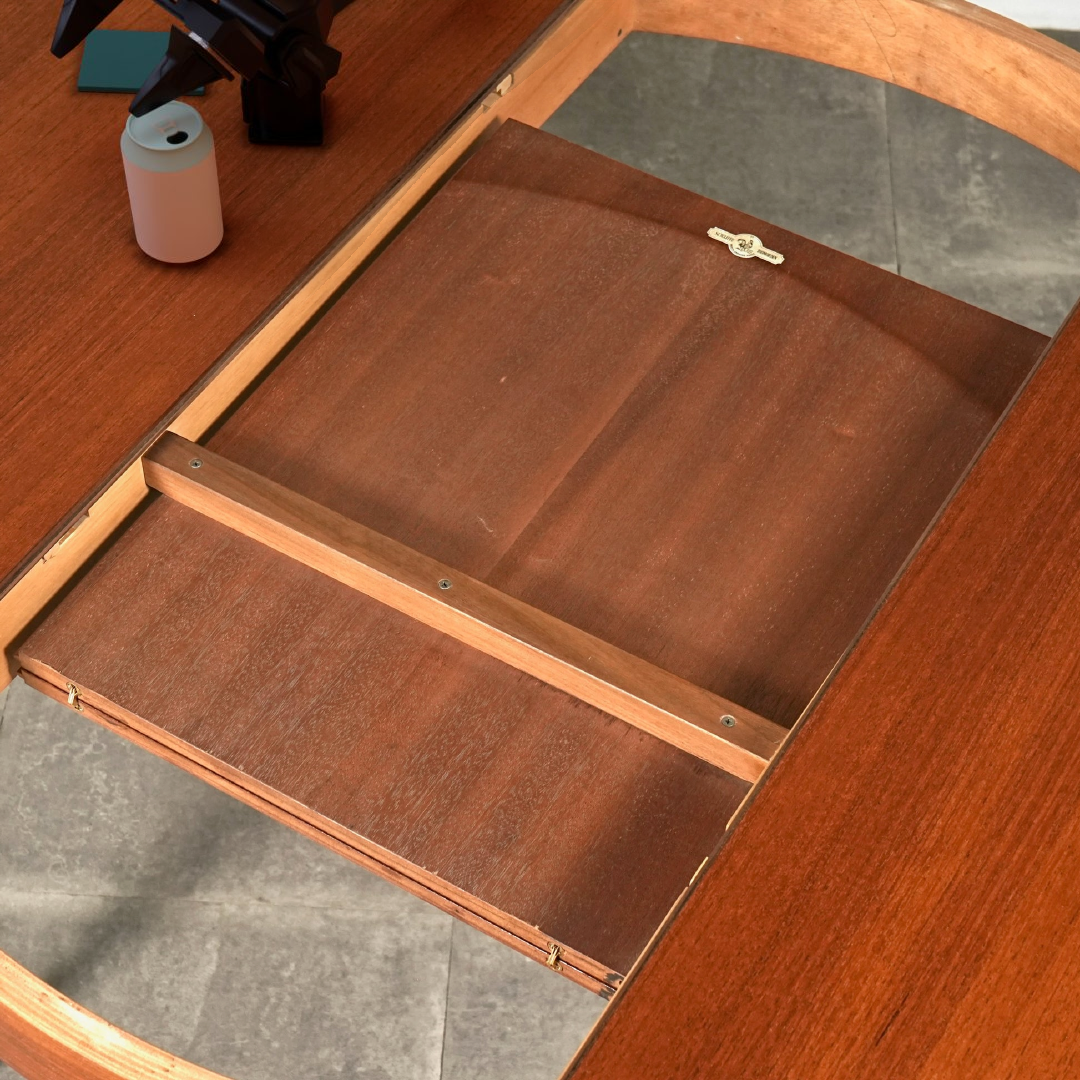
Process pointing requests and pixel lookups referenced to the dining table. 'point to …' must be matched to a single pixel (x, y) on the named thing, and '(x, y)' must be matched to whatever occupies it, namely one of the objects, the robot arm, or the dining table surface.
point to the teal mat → (122, 60)
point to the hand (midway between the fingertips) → (93, 84)
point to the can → (173, 183)
